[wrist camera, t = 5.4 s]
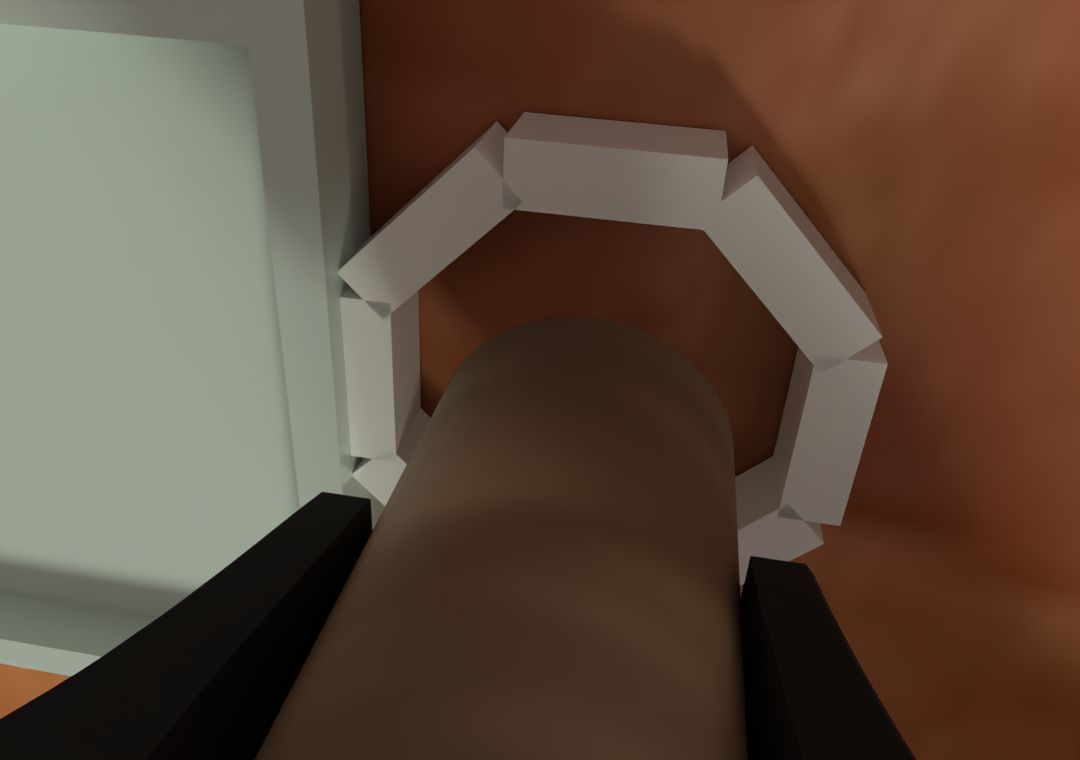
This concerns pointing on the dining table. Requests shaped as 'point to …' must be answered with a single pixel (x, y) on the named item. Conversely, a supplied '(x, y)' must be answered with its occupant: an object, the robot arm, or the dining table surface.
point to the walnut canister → (543, 571)
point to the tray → (167, 299)
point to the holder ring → (649, 198)
